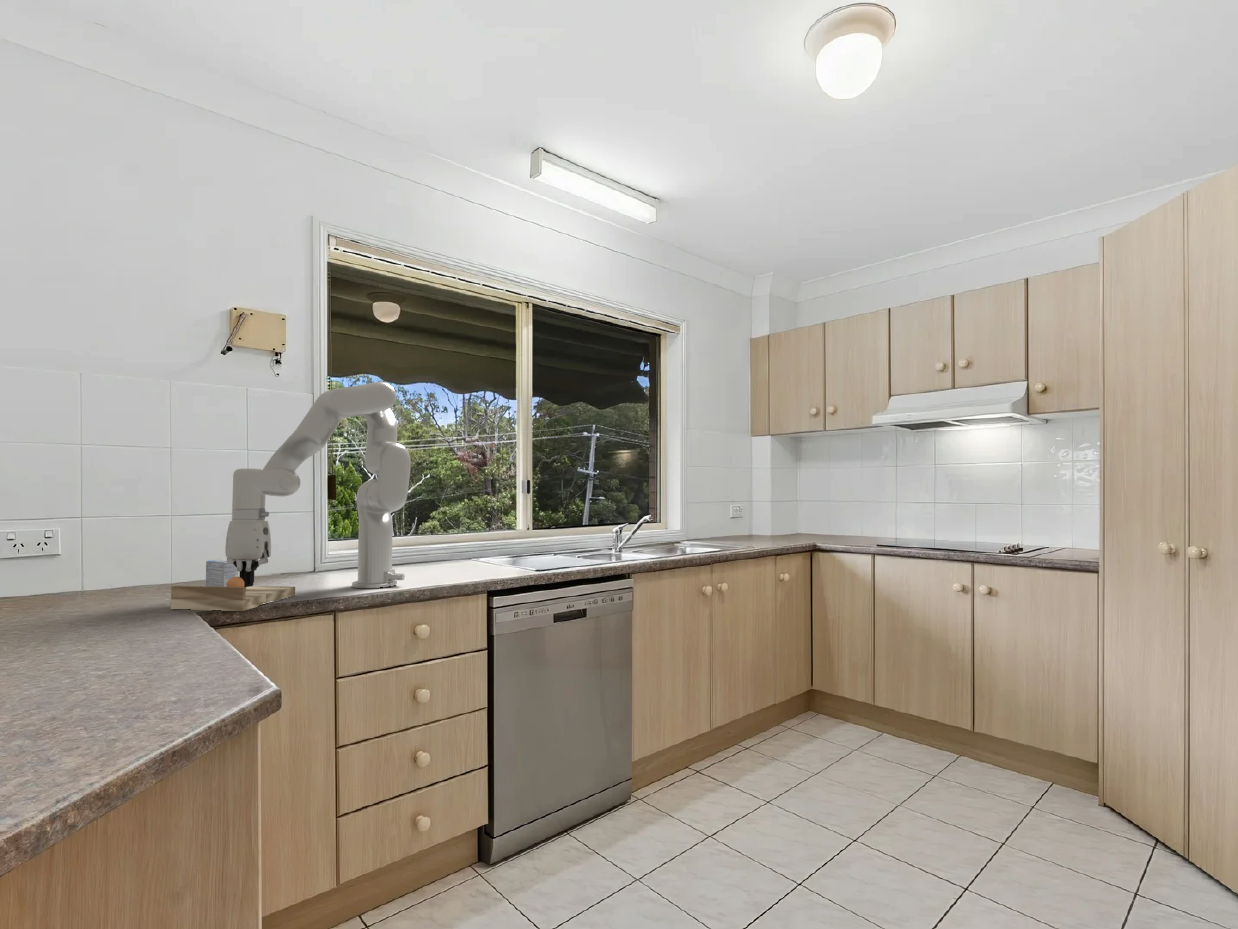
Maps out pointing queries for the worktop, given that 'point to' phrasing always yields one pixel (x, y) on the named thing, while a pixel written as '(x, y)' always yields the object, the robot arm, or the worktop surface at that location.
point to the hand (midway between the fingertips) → (246, 586)
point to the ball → (235, 582)
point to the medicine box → (219, 572)
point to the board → (226, 597)
